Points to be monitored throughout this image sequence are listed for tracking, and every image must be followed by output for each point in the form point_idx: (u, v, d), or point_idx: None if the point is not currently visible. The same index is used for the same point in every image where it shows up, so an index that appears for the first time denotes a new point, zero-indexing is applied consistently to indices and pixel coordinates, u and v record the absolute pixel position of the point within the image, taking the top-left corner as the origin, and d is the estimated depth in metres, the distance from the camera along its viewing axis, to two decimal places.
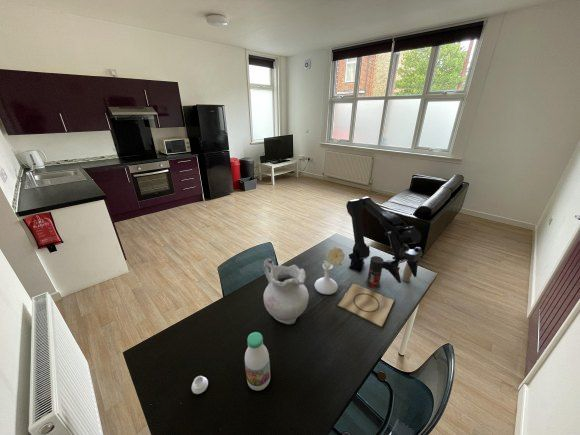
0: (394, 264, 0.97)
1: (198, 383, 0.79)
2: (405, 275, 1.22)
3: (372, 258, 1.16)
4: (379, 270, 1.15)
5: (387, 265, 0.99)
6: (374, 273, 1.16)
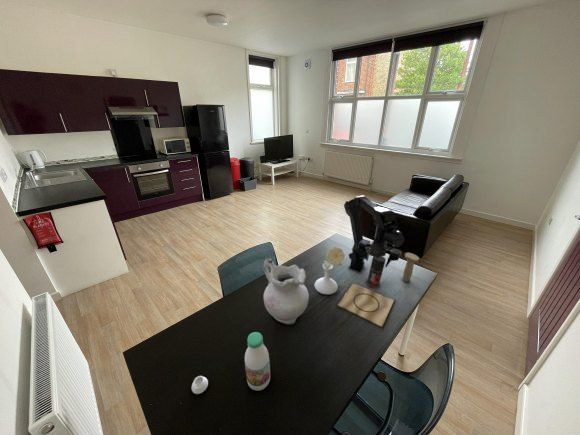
0: (361, 246, 1.15)
1: (198, 383, 0.79)
2: (405, 275, 1.22)
3: None
4: (381, 269, 1.15)
5: None
6: (376, 272, 1.16)
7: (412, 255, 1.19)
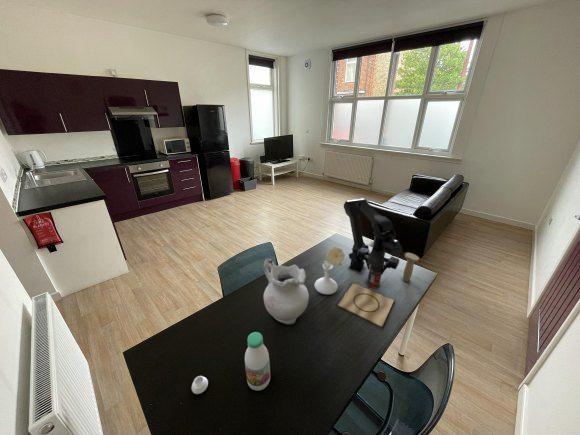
0: (360, 254, 1.17)
1: (198, 383, 0.79)
2: (405, 275, 1.22)
3: None
4: (380, 270, 1.15)
5: None
6: (375, 274, 1.16)
7: (412, 255, 1.19)
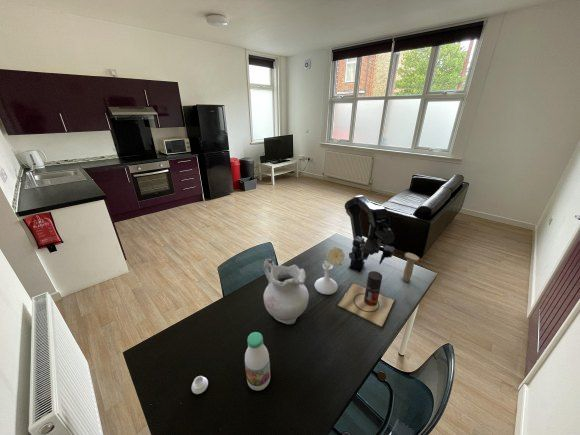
0: (355, 243, 1.16)
1: (198, 383, 0.79)
2: (405, 275, 1.22)
3: (370, 274, 1.05)
4: (377, 287, 1.03)
5: None
6: (372, 291, 1.04)
7: (412, 255, 1.19)
